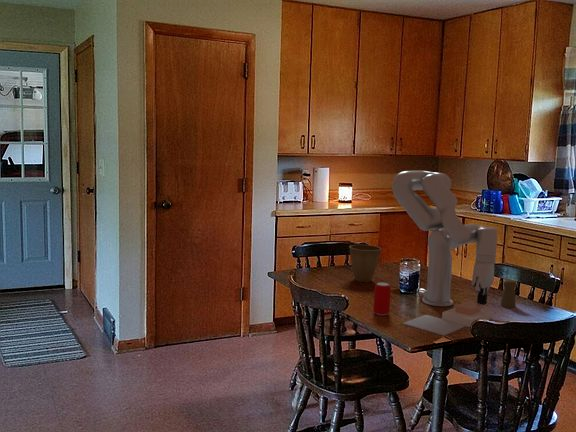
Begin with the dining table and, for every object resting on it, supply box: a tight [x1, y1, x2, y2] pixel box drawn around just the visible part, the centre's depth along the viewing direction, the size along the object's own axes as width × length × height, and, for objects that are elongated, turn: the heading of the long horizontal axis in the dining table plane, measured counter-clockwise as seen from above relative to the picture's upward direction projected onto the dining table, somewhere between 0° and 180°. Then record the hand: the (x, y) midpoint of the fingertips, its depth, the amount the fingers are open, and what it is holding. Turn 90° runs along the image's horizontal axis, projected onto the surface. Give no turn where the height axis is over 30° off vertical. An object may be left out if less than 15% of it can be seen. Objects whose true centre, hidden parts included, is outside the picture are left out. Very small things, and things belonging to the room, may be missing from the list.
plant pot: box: [349, 244, 382, 283], centre depth 288 cm, size 15×15×16 cm
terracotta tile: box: [455, 300, 483, 315], centre depth 234 cm, size 6×9×2 cm, turn 136°
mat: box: [402, 314, 466, 337], centre depth 225 cm, size 17×16×1 cm
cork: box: [499, 279, 517, 309], centre depth 253 cm, size 6×6×11 cm
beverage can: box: [373, 282, 392, 317], centre depth 236 cm, size 6×6×12 cm
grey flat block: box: [441, 306, 492, 328], centre depth 234 cm, size 12×16×3 cm
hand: (481, 303), depth 242 cm, fingers closed
